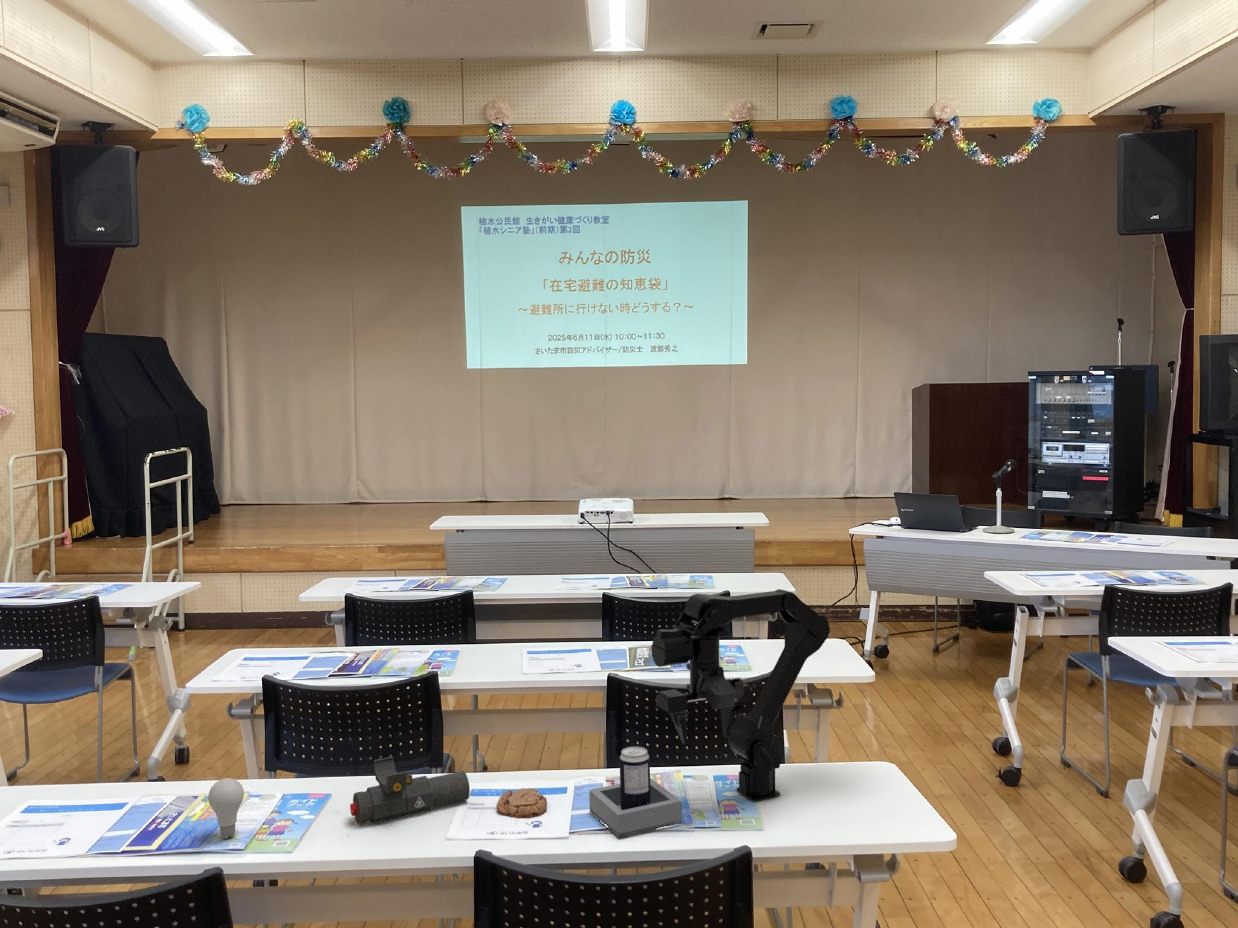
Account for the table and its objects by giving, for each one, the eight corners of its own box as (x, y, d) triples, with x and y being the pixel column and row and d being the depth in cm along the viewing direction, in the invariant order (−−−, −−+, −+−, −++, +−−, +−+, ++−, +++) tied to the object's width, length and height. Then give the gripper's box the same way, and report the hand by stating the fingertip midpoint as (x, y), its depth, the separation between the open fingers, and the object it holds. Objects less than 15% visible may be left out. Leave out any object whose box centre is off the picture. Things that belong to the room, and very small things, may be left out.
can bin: (650, 799, 191) (649, 777, 191) (681, 824, 180) (681, 800, 179) (589, 812, 186) (589, 789, 186) (618, 839, 174) (618, 814, 174)
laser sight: (473, 808, 189) (472, 758, 189) (358, 835, 178) (356, 782, 178) (457, 792, 198) (455, 744, 197) (346, 816, 187) (344, 765, 186)
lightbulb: (211, 847, 174) (208, 788, 173) (208, 834, 180) (206, 776, 179) (247, 840, 177) (245, 781, 176) (243, 827, 182) (241, 770, 182)
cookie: (527, 824, 182) (527, 808, 182) (485, 811, 188) (485, 796, 188) (559, 805, 190) (559, 790, 190) (518, 794, 196) (518, 780, 196)
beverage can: (656, 811, 183) (655, 749, 183) (639, 821, 179) (638, 758, 178) (632, 804, 187) (630, 743, 186) (615, 814, 182) (613, 752, 181)
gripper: (682, 676, 175) (682, 760, 176) (768, 664, 183) (768, 745, 184) (654, 662, 186) (655, 742, 186) (737, 651, 193) (737, 728, 194)
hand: (705, 739), depth 187 cm, fingers open, 9 cm apart
